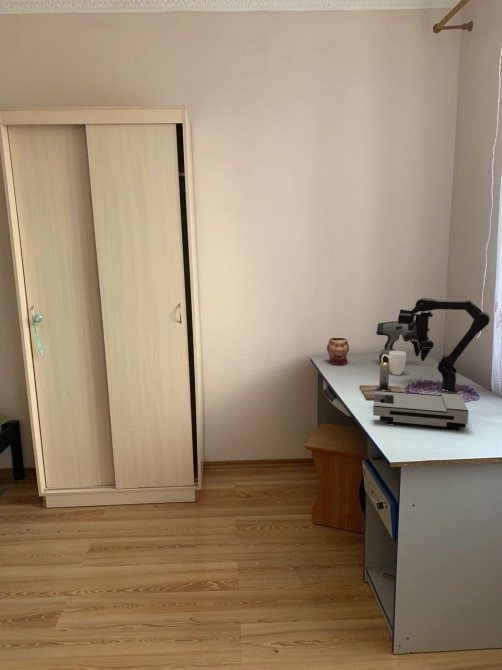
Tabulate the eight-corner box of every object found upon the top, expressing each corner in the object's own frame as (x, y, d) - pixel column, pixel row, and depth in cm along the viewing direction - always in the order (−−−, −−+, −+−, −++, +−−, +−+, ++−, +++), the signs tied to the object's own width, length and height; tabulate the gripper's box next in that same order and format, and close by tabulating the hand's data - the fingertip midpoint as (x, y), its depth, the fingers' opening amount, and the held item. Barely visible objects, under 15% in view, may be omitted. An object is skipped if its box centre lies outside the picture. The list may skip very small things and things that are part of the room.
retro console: (374, 406, 191) (374, 387, 189) (457, 413, 182) (459, 393, 181) (372, 424, 171) (373, 403, 170) (466, 433, 163) (468, 411, 161)
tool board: (409, 400, 196) (409, 398, 196) (366, 400, 197) (366, 397, 197) (398, 388, 214) (399, 385, 214) (359, 387, 215) (359, 385, 215)
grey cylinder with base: (394, 392, 204) (395, 363, 202) (383, 394, 201) (384, 365, 199) (383, 388, 210) (385, 360, 207) (373, 390, 207) (374, 362, 204)
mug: (403, 372, 241) (405, 350, 239) (406, 376, 233) (407, 354, 231) (379, 371, 243) (381, 350, 241) (381, 375, 235) (382, 353, 233)
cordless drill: (421, 367, 250) (424, 321, 245) (375, 365, 255) (377, 320, 250) (419, 364, 258) (422, 319, 253) (374, 362, 262) (376, 318, 258)
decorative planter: (323, 358, 272) (324, 335, 269) (344, 358, 272) (344, 334, 270) (330, 367, 252) (331, 342, 250) (352, 366, 253) (353, 341, 250)
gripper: (398, 322, 222) (397, 353, 225) (409, 329, 204) (407, 363, 207) (422, 322, 222) (420, 354, 225) (435, 329, 203) (432, 363, 206)
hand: (419, 358), depth 216 cm, fingers open, 9 cm apart
